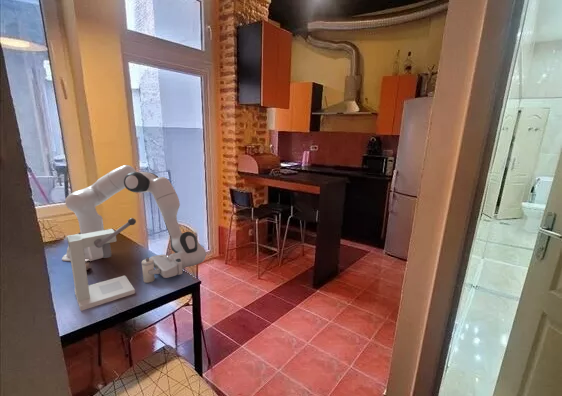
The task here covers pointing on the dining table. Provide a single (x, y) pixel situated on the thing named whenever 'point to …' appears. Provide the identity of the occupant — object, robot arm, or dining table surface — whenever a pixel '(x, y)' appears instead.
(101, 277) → the dining table surface
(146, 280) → the white lidded bottle
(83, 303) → the press
